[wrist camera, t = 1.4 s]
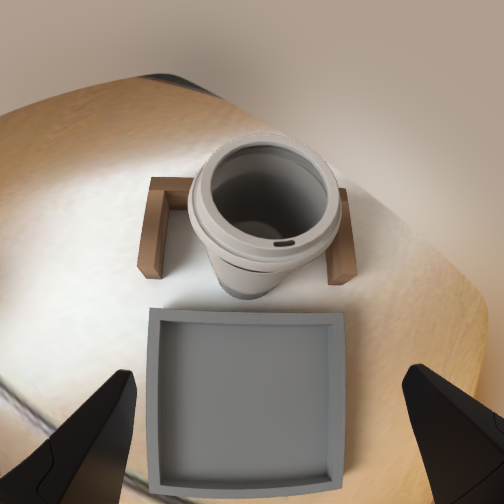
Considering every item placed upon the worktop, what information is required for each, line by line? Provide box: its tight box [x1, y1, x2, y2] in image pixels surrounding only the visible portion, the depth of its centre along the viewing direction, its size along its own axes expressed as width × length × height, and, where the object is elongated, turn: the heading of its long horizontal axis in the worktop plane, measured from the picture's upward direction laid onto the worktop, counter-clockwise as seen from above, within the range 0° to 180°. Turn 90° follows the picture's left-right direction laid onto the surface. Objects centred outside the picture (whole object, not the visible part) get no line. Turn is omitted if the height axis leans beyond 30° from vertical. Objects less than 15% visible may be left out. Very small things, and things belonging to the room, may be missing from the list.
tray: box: [146, 308, 346, 499], centre depth 19 cm, size 14×14×2 cm
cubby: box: [137, 177, 357, 285], centre depth 23 cm, size 7×15×3 cm, turn 89°
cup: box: [188, 134, 342, 300], centre depth 18 cm, size 7×7×12 cm
